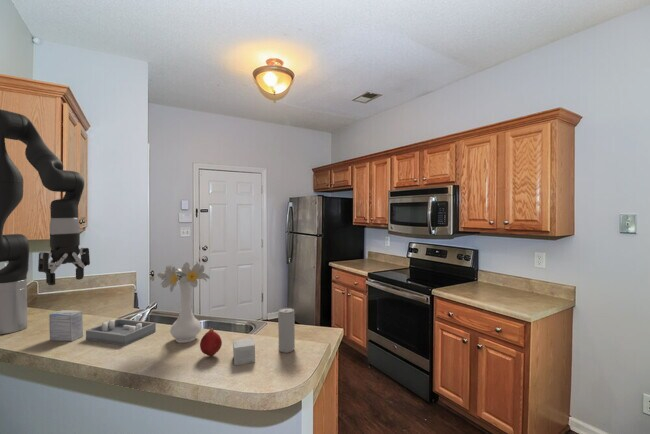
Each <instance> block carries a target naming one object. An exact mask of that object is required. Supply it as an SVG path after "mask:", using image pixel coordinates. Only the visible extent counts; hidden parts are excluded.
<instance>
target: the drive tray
mask: <svg viewBox="0 0 650 434" xmlns="http://www.w3.org/2000/svg"><path fill="white" fill-rule="evenodd" d="M156 329H157V328H156V322H153V321H152V322H151V321H141V320H134V319H127V318H118V319H110V320H109V321H108V322H107V321H106V322H102V323H101V324H100V325H97V326H95V327H91V328H90V329H86V330H85V340H86V341H92V342H93V341H94V342H99V343H104V344H105V343H106V344H112V345H113V344H114V345H119V346H127V345H129V344H131V343H134V342H136V341H138V340H141V339H143V338H145V337H147V336H149V335H151V334H153V333H156V331H157V330H156Z"/></svg>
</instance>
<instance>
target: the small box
mask: <svg viewBox="0 0 650 434" xmlns="http://www.w3.org/2000/svg"><path fill="white" fill-rule="evenodd" d="M232 350H233V363H234V366H238V365H245V364H246V365H248V364H254V363H256V345H255V341H254V338H253V337H249V338H244V339H243V338H242V339H241V338H240V339H236V340H233V341H232Z"/></svg>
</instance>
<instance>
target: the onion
mask: <svg viewBox="0 0 650 434" xmlns="http://www.w3.org/2000/svg"><path fill="white" fill-rule="evenodd" d="M222 343H223V341H222V337H221V336H220V334H218V333H217V332H216V331H214V328H210V329H209V330H208V331H207V332H206V333H205V334H204V335H203V336H202V337H201V340H200V341H199V348H200V351H201V352H202V354H204V355H206V356H208V357H211V358H212V357H214V356H215V355H216V354H217V353H218V352H219V351H220V349H221V348H222V346H223V344H222Z"/></svg>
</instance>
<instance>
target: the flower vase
mask: <svg viewBox="0 0 650 434" xmlns="http://www.w3.org/2000/svg"><path fill="white" fill-rule="evenodd" d="M173 264H174V263H171V264H169V265H165V266H166V267H165V270H164V272H163V271H160V272H158V273H157V277H158V278H160V279H161V281H162V282H160V286H161V287H162V288H163V289H165V288H168V287H169V291H170V293H172V292H173V291H174V289H175V287H176V286H177V285H178V286H179V289H180V308H179V314H178V317H177V319H176V320H175V321H174V322H173V323H172V325H171V326H170V329H169V333H170V335H171V337H173V338H174V339H175V342H176V343H179V344H183V343H185V344H186V343H190V342H193V341H195V340H196V339H197V337H198V335H199V334H200V333H201V332H202V324H201V322H200V320H199V319H197V318H196V317H195V315H194V313H193V310H192V295H191V293H192V288H197V286H198V280H204V281H205V282H208V280H210V278H211V277H210V276H209V274H207V273H205V265H204V264H201V265H200V264H199V263H198V261H196V263H195V264H194V265H193V266H192V267H191V266H190V263H189V262H188V261H187V262H184V263H183V266H182V267H181V268H176V267H175V266H174V265H173ZM177 283H178V284H177Z"/></svg>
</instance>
